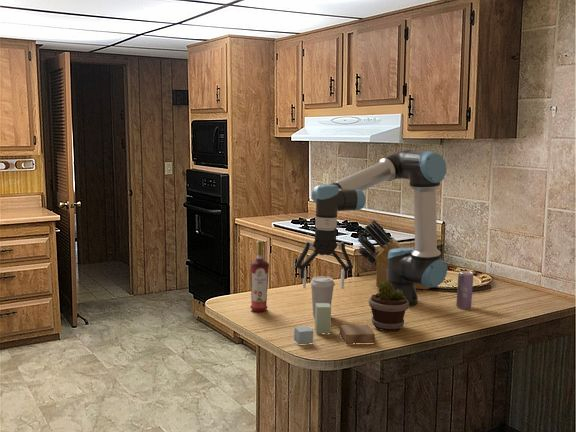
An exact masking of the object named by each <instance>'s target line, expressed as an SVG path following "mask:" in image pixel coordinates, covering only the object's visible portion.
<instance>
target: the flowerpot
mask: <svg viewBox="0 0 576 432" xmlns="http://www.w3.org/2000/svg"><path fill="white" fill-rule="evenodd" d="M380 283H381V284H380V285H379V286H380V287H378V286H376V287H377V293H376V294H371V297H369V298H368V305H369V307H370V309H371V314H372V317H371V323H372V325H373V326H375V327H376V328H375V327H374V328H375V329H377V328H378V329H377V330H379V329H381V330H380V331H383V330H384V332H398V331H400V330H401V329H402V327H404V325H405V319H404V317H405V315H406V311H407V310H408V309H409V302H408V300H407V299H406V297H405V296H404V295H403V294H402V292H400V291H398V290H397V291H393V292H392V290H394V289H393V288H394V286H393V287H392V282H389V279H388V281H387V278H386V280H383V282H382V281H380ZM397 330H398V331H397Z"/></svg>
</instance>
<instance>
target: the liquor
mask: <svg viewBox="0 0 576 432" xmlns="http://www.w3.org/2000/svg"><path fill="white" fill-rule="evenodd" d="M264 242H265V241H264V240H259V239H258V240H256V258H255V260H253V261H252V262H251V263H250V286H251V287H250V289H251V290H250V291H251V292H250V293H251V294H250V295H251V296H250V297H251V301H250V302H251V305H250V309H251V310H252V311H253V310H254V311H253V312H255V311H263V312H264V311H266V310H267V309H268V305H267V300H268V299H267V298H268V285H269V273H270V272H269V270H270V269H269V268H270V264H269V262H267V261H266V260H264Z"/></svg>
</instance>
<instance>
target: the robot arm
mask: <svg viewBox="0 0 576 432" xmlns="http://www.w3.org/2000/svg"><path fill="white" fill-rule="evenodd" d="M446 175H447V163H446V161H445V158H444V156H442V155H441V154H440V153H439V152H435V151H430V150H413V149H406V150H405V149H404V150H400V151H398V152H395V153H392V154H389V155H388V156H385V157H383V158H380V159H379V161H378V162H377V163H376V164H373V165H371V166H368V167H366V168H364V169H361V170H360V171H356V172H354V173H353V174H350V175H348V176H345V177H342V178H340V179H338V180H336V181H334V182H332V183H330V184H329V183H328V184H323V183H322V184H318V185H317V186H314V188H312V191H311V200H312V201H313V203H314V204H315V225H314V226H315V230H314V241H313V242H311V241H305V245H304V248H303V250H302V251H301V254H300V256H299V258H298V259H297V261H296V263H295V267H296V268H297V269H299V270H300V275H299V276H300V279H302V288H303V289H307V288H306V287H307V269H306V267H309V265H310V263H312V261H314V259H315V258H317V256H319V255H320V256H330V255H332V256H333V257H334V258H335V259H336V260H337V262H338V264H339V265H340V266H341V267H342V269H341V270H340V271H341V272H340V288H341V289H342V290H344V289H345V280H347V279H348V271H349V270H351V269H354V266H353V263H352V261H351V258H350V257H349V255H348V252H347V250H346V244H345V243H344V242H343V241H341V242H337V226H338V212H345V211H346V212H347V211H348V212H349V211H359V210H362V209H363V208H364V207H365V205H366V195H365V192H364V191H365V190H368V189H370V188H372V187H375V186H377V185H379V184H381V183H383V182H391V181H394V180H398V179H405V180H409V187H410V188H411V190H413V211H414V214H413V218H414V219H413V220H414V247H403V248H396V249H391V250H390V251H389V252H388V258H387V281H388V279H389V282H392V287H393V286H394V288H393V289H394V290H392V292H393V291H397V290H398V291H400V292H402V294H403V295H404V296H405V297H406V299H407V300H408V302H409V307H414V306H417V305H418V303H419V302H418V301H419V297H418V296H419V295H418V293H417V288H415V283H418V284H421V285H423V286H428V287H430V288H436V287H439V286H440V285H441V284H442V283H443V281H444V280H445V279H446V277H447V274H448V265H447V263H446V261H445V260H443V259H442V256H441V255H442V253H441V251H440V250H439V249H438V248H437V247H438V241H437V239H438V238H437V237H438V236H437V234H438V233H437V226H438V225H437V223H438V222H437V189H439V187H440V186H441V182H443V180H444V179H445V176H446ZM312 247H314V250H313V251H312V253H310V255H309V256H308V257H306V256H307V254H308V252H309V250H310V249H311V248H312ZM337 247H338V249H340V250H341V252H342V255H343V258H344V259H345V261H346V263H347V265H346V264H345V262H344V261H343V260H342V258H340V256H339V255H338V254H337V252H336V251H335V250H336V249H337ZM305 258H306V259H305ZM304 259H305V260H304ZM303 261H304V262H303Z"/></svg>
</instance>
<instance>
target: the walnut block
mask: <svg viewBox="0 0 576 432" xmlns="http://www.w3.org/2000/svg"><path fill="white" fill-rule="evenodd" d="M340 335H341V337H342V338H341V337H340V338H341V340H342V339H343V340H344V341H343V340H342V341H343V343H344V342H345V343H346V344H353V343H355V344H356V343H374V344H375V342H376V341H375V338H376V334H375V333H374V331H373V330H372V328H370V326H369V325H368V324H343V325H342V324H340V325H339V336H340ZM345 343H344V344H345Z"/></svg>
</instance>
